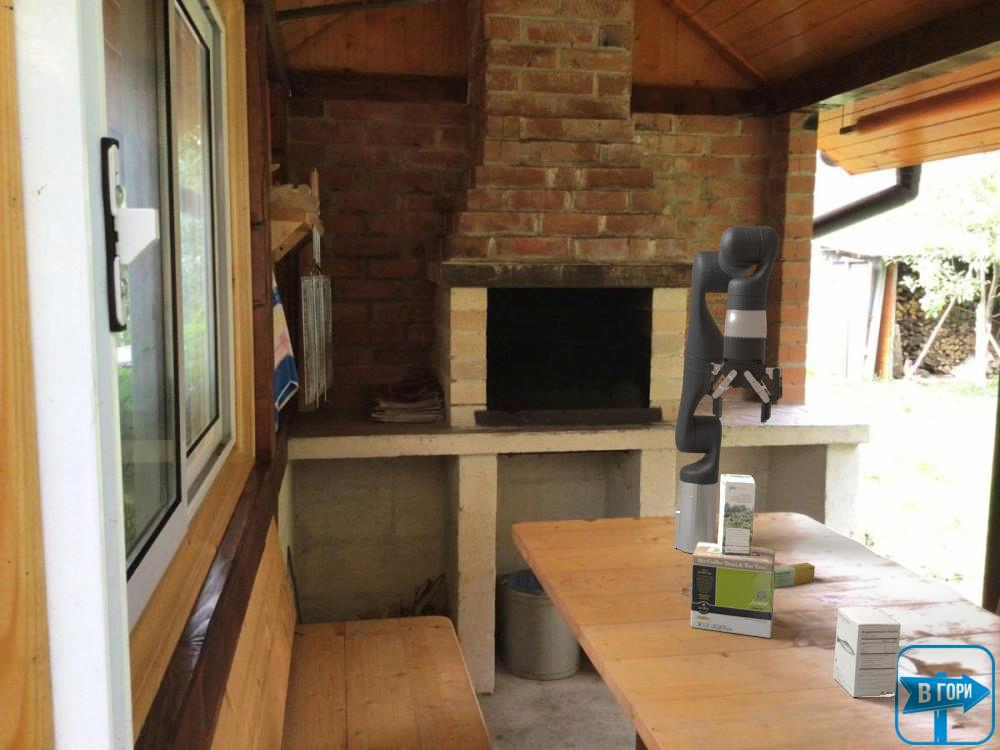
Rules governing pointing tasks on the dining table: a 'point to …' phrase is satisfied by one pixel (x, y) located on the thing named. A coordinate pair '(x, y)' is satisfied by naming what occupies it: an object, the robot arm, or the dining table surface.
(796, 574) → the medication box
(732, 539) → the syrup box
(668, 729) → the dining table surface
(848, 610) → the supplement box
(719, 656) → the dining table surface
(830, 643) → the dining table surface
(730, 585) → the tea box
